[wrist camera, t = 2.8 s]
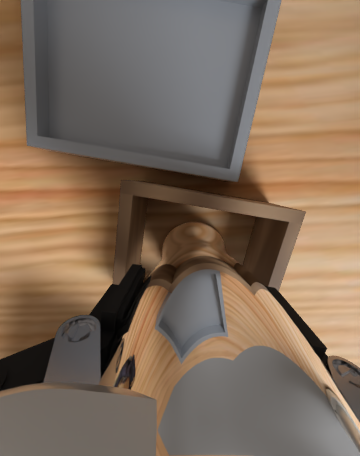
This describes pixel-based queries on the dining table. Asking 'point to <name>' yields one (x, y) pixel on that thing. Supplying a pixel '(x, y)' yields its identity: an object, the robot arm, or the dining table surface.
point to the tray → (146, 80)
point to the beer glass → (225, 361)
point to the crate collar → (265, 212)
